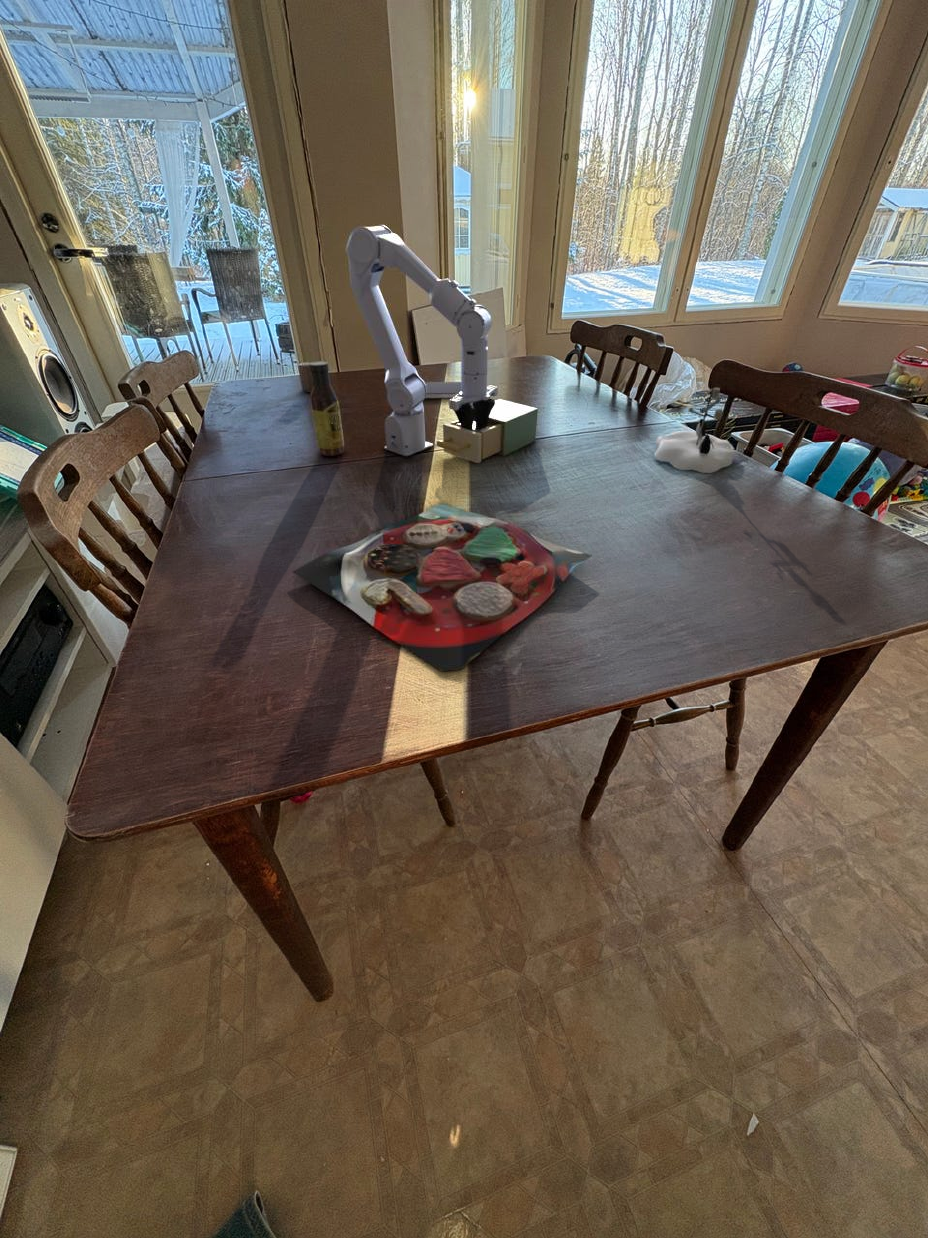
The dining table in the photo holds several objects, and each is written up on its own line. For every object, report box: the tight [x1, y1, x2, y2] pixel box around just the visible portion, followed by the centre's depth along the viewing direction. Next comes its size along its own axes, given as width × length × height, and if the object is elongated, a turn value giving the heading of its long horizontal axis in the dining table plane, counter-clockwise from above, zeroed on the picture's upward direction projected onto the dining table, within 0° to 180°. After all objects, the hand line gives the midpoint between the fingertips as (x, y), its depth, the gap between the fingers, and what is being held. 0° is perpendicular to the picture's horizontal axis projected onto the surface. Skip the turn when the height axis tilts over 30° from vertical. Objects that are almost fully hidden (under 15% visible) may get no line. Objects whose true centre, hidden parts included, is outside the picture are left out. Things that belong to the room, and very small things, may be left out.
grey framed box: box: [457, 421, 491, 433], centre depth 120 cm, size 4×7×4 cm, turn 49°
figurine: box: [654, 386, 738, 474], centre depth 116 cm, size 20×18×16 cm
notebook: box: [424, 381, 461, 400], centre depth 163 cm, size 13×2×21 cm
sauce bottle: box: [309, 361, 345, 457], centre depth 118 cm, size 6×6×20 cm
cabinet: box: [488, 398, 539, 456], centre depth 127 cm, size 13×12×8 cm
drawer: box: [436, 416, 504, 464], centre depth 120 cm, size 17×11×6 cm, turn 139°
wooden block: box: [297, 361, 314, 394], centre depth 163 cm, size 4×4×8 cm
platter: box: [292, 503, 593, 672], centre depth 83 cm, size 35×35×2 cm
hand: (473, 434), depth 120 cm, fingers closed on grey framed box, 4 cm apart
